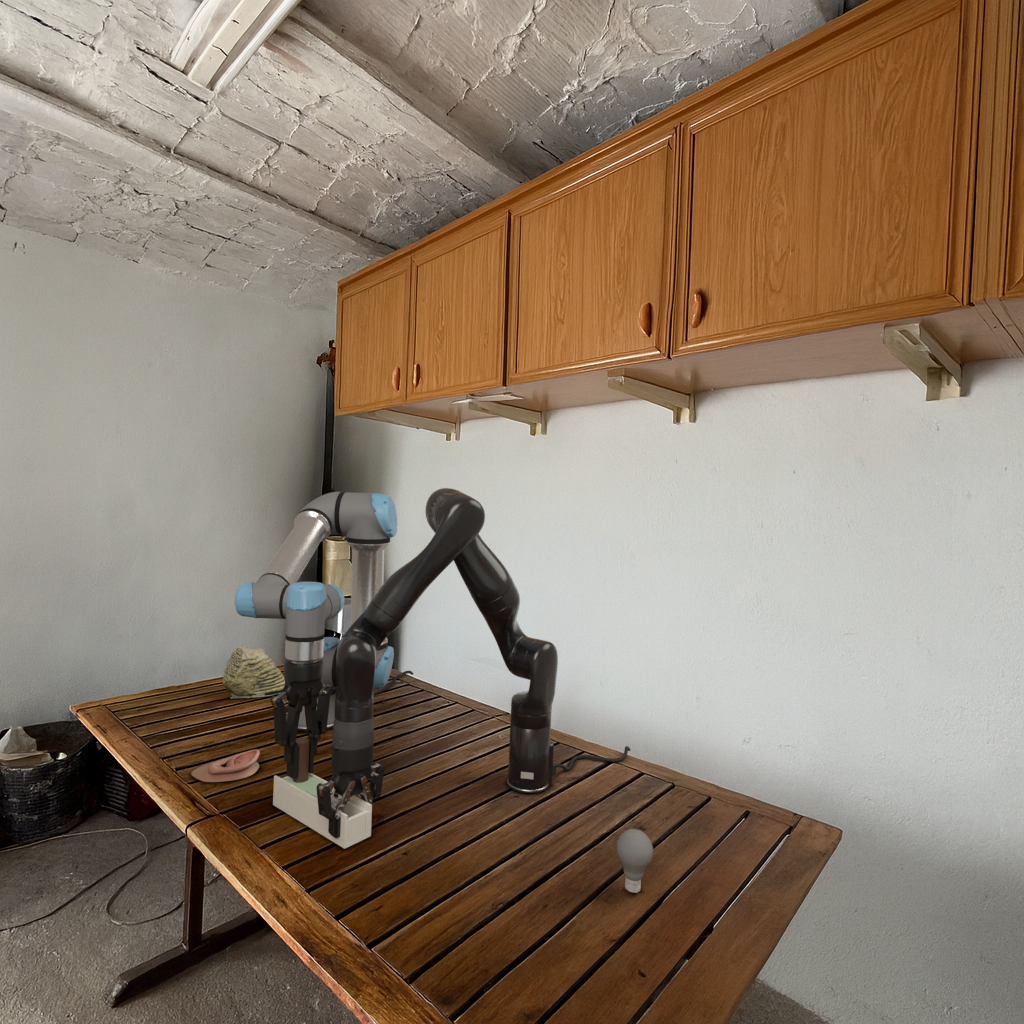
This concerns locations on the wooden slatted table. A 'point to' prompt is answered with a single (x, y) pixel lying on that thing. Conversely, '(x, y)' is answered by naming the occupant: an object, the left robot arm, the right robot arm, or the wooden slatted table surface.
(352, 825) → the pencil box
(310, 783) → the sliding lid
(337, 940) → the wooden slatted table surface
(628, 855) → the light bulb
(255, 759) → the anatomical model
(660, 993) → the wooden slatted table surface
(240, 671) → the fossil
